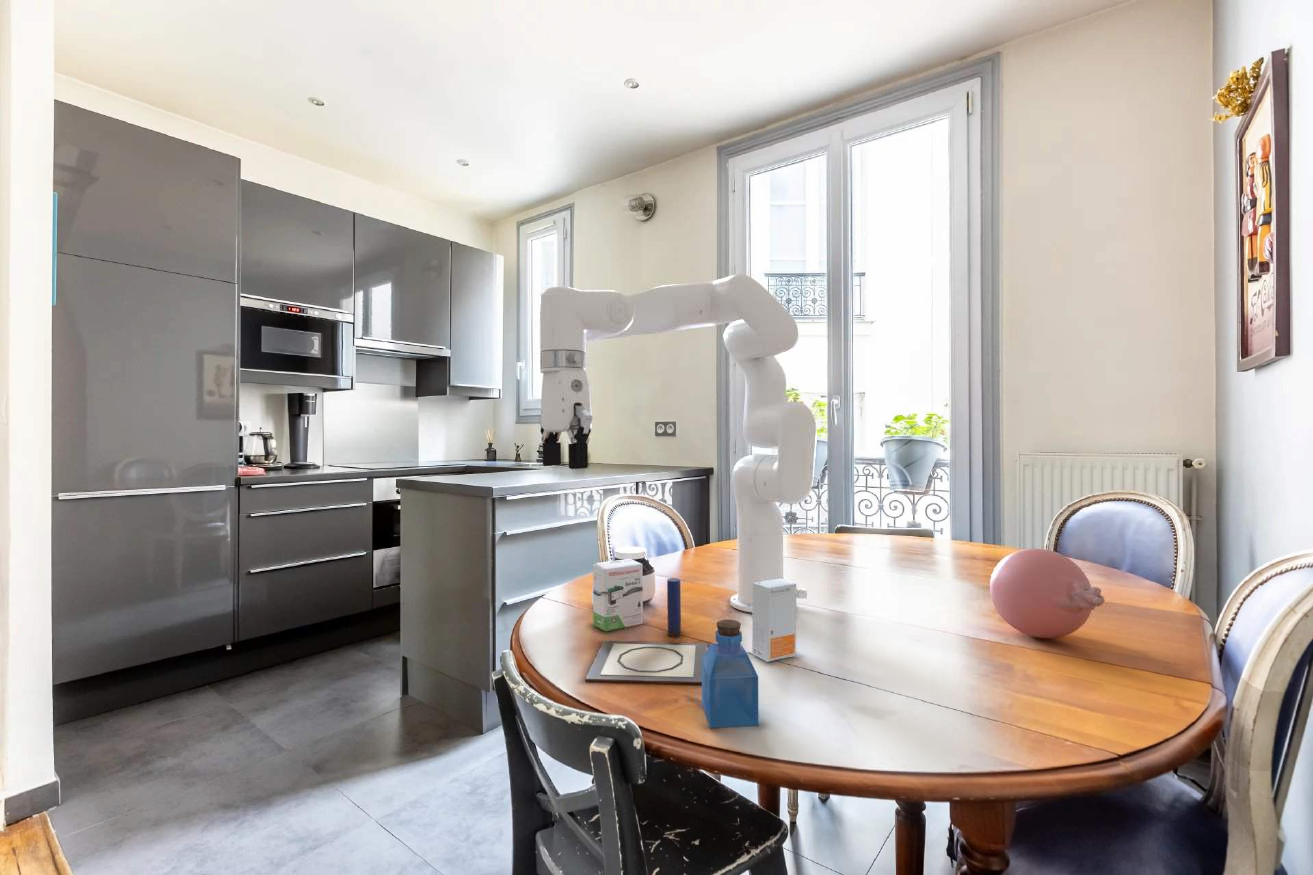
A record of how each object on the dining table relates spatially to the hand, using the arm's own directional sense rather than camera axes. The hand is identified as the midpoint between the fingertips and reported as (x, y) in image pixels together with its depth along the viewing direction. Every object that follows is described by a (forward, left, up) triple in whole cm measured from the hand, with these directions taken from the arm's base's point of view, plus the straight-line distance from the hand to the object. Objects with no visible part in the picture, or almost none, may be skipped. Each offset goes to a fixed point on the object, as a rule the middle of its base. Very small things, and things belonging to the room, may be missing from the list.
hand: (564, 466), depth 101 cm
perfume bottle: (-26, +20, -31) cm, 46 cm away
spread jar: (-5, -27, -31) cm, 42 cm away
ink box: (-6, -15, -31) cm, 35 cm away
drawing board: (-14, +3, -31) cm, 35 cm away
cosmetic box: (-34, -1, -31) cm, 47 cm away
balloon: (-82, -11, -31) cm, 89 cm away
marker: (-17, -10, -31) cm, 37 cm away
